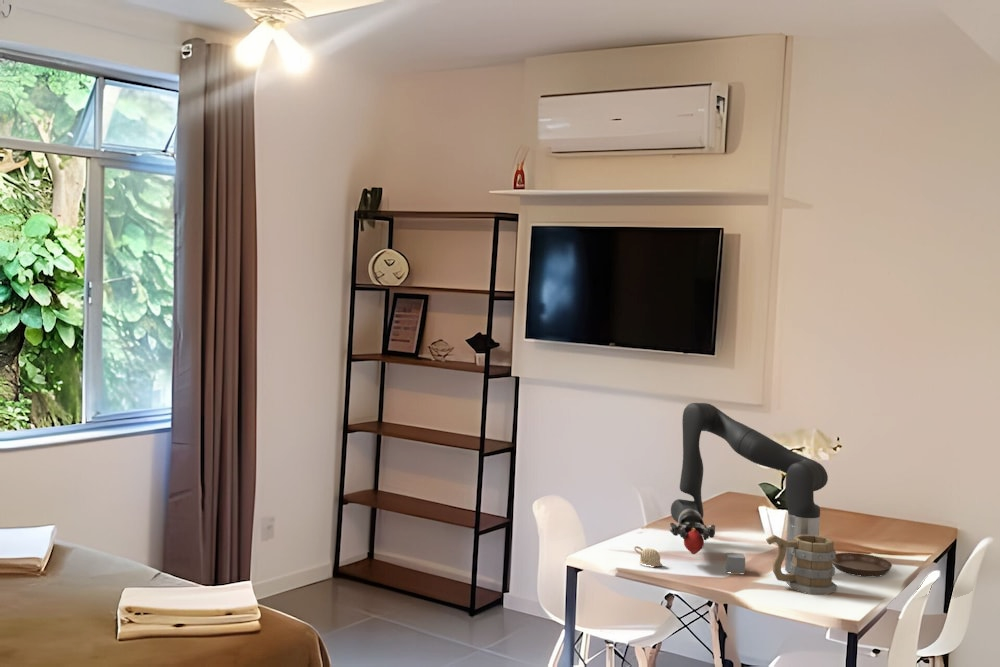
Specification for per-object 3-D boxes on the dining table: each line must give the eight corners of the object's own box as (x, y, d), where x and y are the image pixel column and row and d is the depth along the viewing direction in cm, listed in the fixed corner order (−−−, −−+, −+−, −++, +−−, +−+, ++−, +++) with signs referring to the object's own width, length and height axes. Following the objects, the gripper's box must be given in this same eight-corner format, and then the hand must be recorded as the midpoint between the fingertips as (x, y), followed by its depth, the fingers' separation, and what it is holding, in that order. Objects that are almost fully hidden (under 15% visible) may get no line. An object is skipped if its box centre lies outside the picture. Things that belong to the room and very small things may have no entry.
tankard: (824, 581, 285) (827, 530, 284) (841, 595, 273) (844, 541, 272) (757, 579, 284) (759, 528, 284) (770, 593, 272) (773, 540, 271)
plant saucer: (883, 583, 286) (883, 572, 286) (822, 571, 296) (822, 561, 296) (897, 569, 301) (898, 560, 301) (839, 559, 311) (839, 549, 311)
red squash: (689, 550, 297) (690, 524, 297) (707, 553, 294) (707, 527, 293) (680, 554, 293) (680, 528, 293) (697, 557, 289) (698, 531, 289)
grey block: (742, 570, 294) (743, 553, 294) (744, 574, 289) (745, 558, 289) (725, 568, 295) (726, 552, 295) (727, 573, 290) (727, 557, 290)
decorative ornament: (658, 569, 292) (659, 551, 292) (632, 564, 296) (633, 547, 296) (663, 566, 296) (663, 548, 295) (636, 561, 299) (637, 544, 299)
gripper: (667, 509, 308) (670, 522, 291) (714, 512, 306) (720, 525, 289) (667, 533, 308) (670, 547, 292) (713, 535, 307) (719, 550, 290)
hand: (695, 536), depth 291 cm, fingers closed on red squash, 5 cm apart
